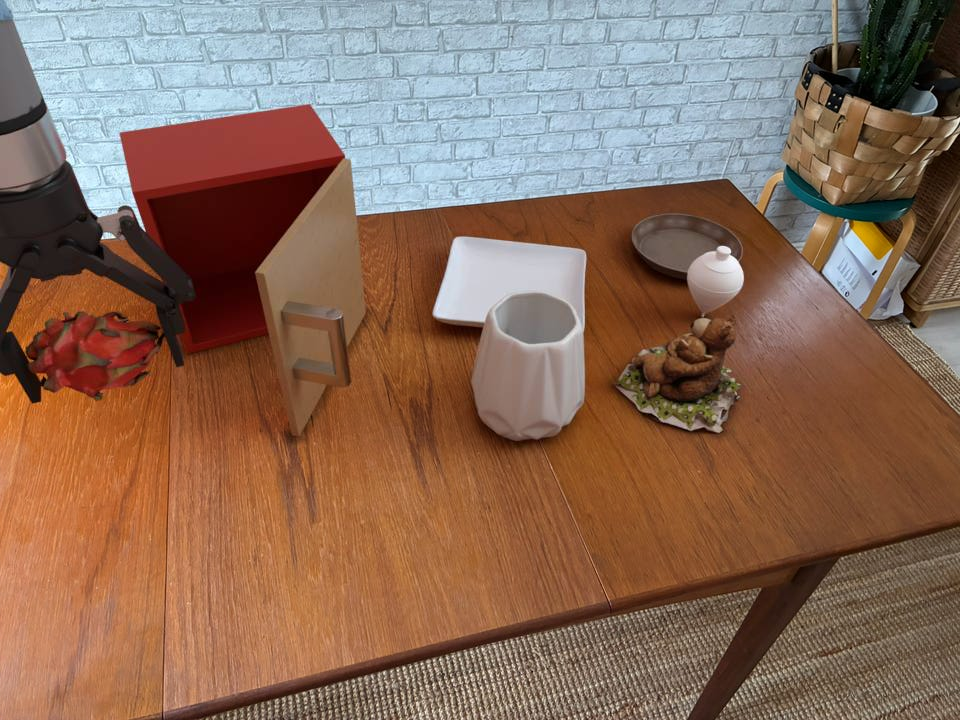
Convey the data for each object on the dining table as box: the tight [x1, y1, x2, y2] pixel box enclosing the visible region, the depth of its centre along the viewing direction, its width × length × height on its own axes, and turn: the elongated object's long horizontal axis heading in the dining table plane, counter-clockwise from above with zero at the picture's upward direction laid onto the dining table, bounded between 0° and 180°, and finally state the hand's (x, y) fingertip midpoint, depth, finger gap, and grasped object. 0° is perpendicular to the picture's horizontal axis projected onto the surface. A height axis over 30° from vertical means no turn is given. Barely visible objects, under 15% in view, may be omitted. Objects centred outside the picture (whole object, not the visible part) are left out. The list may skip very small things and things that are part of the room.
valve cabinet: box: [118, 103, 346, 355], centre depth 96 cm, size 16×24×24 cm, turn 115°
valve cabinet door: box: [255, 158, 367, 438], centre depth 85 cm, size 7×24×24 cm, turn 168°
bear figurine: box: [613, 314, 742, 434], centre depth 89 cm, size 14×15×12 cm
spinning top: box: [686, 246, 745, 318], centre depth 100 cm, size 8×8×12 cm
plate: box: [431, 236, 587, 333], centre depth 105 cm, size 21×21×3 cm
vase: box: [470, 291, 586, 442], centre depth 84 cm, size 14×14×15 cm
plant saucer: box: [631, 213, 744, 281], centre depth 115 cm, size 18×18×3 cm
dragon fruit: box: [24, 310, 165, 402], centre depth 66 cm, size 8×8×12 cm
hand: (110, 375), depth 68 cm, fingers closed on dragon fruit, 12 cm apart
